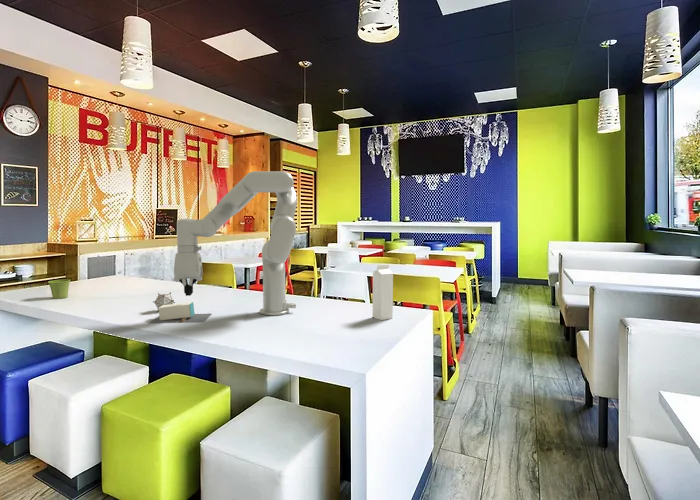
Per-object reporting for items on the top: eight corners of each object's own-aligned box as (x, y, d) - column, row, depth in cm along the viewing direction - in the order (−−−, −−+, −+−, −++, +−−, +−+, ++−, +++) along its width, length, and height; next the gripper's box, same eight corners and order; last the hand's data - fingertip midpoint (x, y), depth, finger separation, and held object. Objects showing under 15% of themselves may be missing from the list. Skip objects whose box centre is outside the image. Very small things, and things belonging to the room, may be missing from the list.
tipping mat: (212, 314, 169) (212, 311, 169) (204, 322, 155) (204, 320, 155) (160, 315, 166) (160, 312, 166) (147, 324, 152) (147, 321, 152)
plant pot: (44, 299, 196) (43, 282, 195) (56, 296, 206) (55, 279, 205) (64, 299, 197) (63, 282, 196) (75, 295, 206) (74, 279, 206)
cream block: (193, 302, 163) (162, 305, 162) (189, 304, 158) (158, 307, 157) (194, 313, 163) (164, 317, 162) (191, 316, 158) (160, 320, 157)
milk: (392, 318, 163) (393, 265, 162) (380, 320, 160) (381, 266, 158) (383, 315, 169) (384, 263, 167) (371, 317, 165) (372, 264, 163)
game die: (166, 320, 173) (164, 305, 166) (150, 312, 174) (147, 297, 168) (180, 306, 180) (178, 291, 173) (164, 299, 181) (162, 284, 175)
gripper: (209, 249, 163) (210, 293, 165) (171, 249, 161) (172, 293, 163) (204, 250, 156) (205, 296, 157) (164, 250, 154) (166, 297, 155)
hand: (188, 295), depth 160 cm, fingers closed
